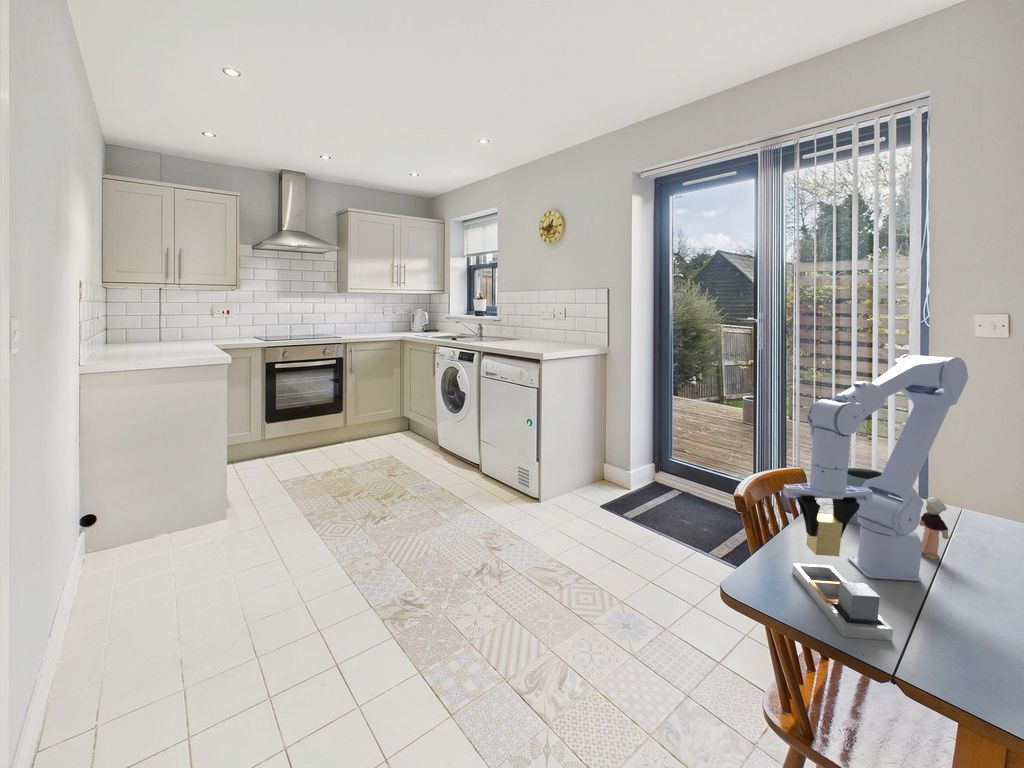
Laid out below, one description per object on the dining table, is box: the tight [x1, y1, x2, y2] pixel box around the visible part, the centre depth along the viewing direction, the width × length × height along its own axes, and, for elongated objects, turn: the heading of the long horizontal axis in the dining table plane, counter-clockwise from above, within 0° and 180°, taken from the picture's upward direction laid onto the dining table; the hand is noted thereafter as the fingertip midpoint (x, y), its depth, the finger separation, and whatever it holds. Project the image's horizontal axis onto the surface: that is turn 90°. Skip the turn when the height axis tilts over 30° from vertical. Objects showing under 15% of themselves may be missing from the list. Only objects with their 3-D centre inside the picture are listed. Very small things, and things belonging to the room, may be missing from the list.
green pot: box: [846, 467, 890, 527], centre depth 122 cm, size 10×10×12 cm
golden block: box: [805, 513, 843, 557], centre depth 93 cm, size 4×4×6 cm
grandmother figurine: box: [919, 496, 950, 560], centre depth 104 cm, size 8×4×13 cm, turn 5°
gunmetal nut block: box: [837, 581, 881, 625], centre depth 81 cm, size 4×4×6 cm
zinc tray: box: [791, 562, 894, 642], centre depth 88 cm, size 7×20×2 cm, turn 172°
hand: (823, 534), depth 93 cm, fingers closed on golden block, 4 cm apart
